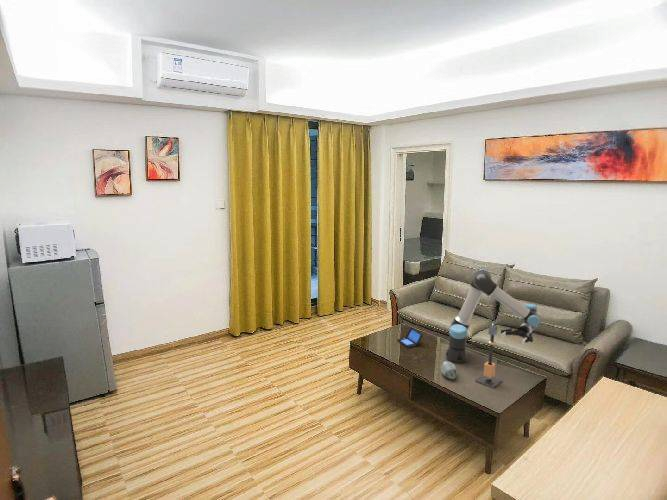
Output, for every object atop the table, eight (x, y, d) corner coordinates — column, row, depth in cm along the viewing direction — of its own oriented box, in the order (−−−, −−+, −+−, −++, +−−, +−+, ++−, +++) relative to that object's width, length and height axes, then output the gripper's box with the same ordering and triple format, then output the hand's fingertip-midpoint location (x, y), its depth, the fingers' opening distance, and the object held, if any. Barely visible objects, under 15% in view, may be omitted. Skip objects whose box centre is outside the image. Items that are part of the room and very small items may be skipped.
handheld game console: (396, 341, 321) (396, 329, 319) (410, 338, 327) (410, 327, 325) (408, 348, 307) (408, 337, 306) (422, 345, 313) (423, 334, 311)
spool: (461, 376, 259) (453, 362, 260) (447, 383, 260) (440, 368, 261) (457, 371, 273) (450, 357, 274) (444, 377, 274) (437, 363, 275)
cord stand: (475, 381, 260) (479, 323, 253) (483, 374, 269) (488, 318, 261) (493, 388, 252) (499, 328, 244) (501, 381, 261) (507, 323, 253)
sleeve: (483, 375, 260) (484, 363, 258) (486, 372, 263) (487, 361, 262) (491, 378, 256) (492, 366, 255) (494, 375, 260) (495, 363, 258)
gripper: (543, 340, 270) (531, 350, 255) (505, 330, 287) (492, 339, 272) (544, 329, 269) (532, 339, 254) (505, 320, 286) (493, 329, 271)
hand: (511, 339), depth 263 cm, fingers open, 13 cm apart
